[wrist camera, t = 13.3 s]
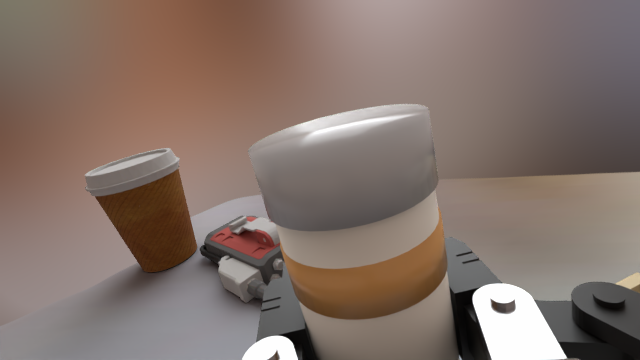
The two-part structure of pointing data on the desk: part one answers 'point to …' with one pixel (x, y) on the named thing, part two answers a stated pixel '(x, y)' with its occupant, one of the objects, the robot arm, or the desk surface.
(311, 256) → the cylinder
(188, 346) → the desk surface
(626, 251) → the desk surface
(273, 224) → the walkie-talkie
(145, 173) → the disposable coffee cup
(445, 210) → the desk surface
